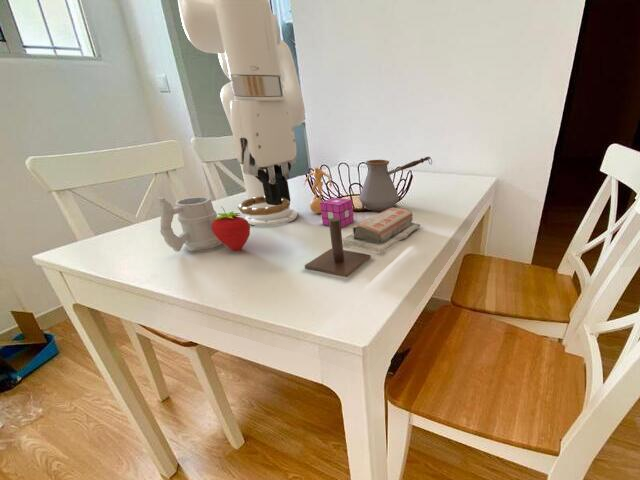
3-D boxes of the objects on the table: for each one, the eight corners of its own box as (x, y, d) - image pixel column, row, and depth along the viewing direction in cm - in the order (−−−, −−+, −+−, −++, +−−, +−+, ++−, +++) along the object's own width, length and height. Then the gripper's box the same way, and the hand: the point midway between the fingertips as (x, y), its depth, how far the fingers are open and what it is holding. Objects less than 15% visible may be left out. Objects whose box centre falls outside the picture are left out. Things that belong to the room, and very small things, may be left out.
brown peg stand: (305, 271, 64) (297, 223, 59) (332, 253, 71) (328, 209, 67) (346, 280, 61) (341, 230, 56) (371, 260, 68) (368, 215, 63)
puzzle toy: (336, 218, 91) (333, 197, 88) (354, 221, 89) (352, 199, 86) (322, 224, 86) (319, 202, 84) (341, 228, 84) (339, 205, 82)
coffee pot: (352, 210, 97) (348, 155, 90) (370, 200, 107) (368, 149, 100) (423, 219, 91) (424, 160, 83) (436, 207, 100) (438, 153, 93)
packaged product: (385, 203, 86) (420, 209, 82) (385, 222, 88) (420, 228, 84) (340, 224, 72) (380, 232, 68) (342, 245, 74) (381, 254, 70)
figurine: (301, 214, 94) (294, 169, 89) (312, 208, 99) (306, 165, 94) (328, 216, 92) (323, 170, 87) (338, 210, 97) (334, 166, 92)
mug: (234, 241, 76) (219, 187, 70) (185, 263, 67) (164, 202, 61) (208, 237, 79) (193, 184, 73) (158, 256, 69) (136, 197, 63)
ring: (228, 212, 59) (226, 205, 58) (264, 199, 66) (263, 193, 65) (266, 219, 56) (265, 212, 55) (299, 205, 63) (299, 198, 62)
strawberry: (244, 259, 68) (232, 210, 63) (211, 256, 69) (197, 208, 65) (261, 248, 73) (251, 202, 68) (230, 245, 74) (218, 200, 70)
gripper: (274, 89, 62) (290, 190, 71) (197, 89, 49) (229, 212, 58) (308, 90, 59) (320, 195, 68) (236, 90, 47) (263, 218, 56)
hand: (278, 202), depth 63 cm, fingers closed on ring, 1 cm apart
